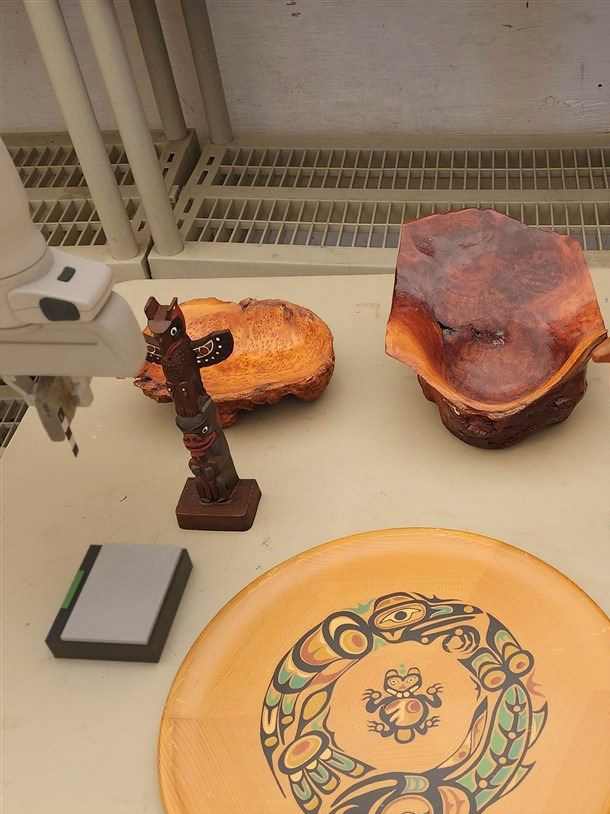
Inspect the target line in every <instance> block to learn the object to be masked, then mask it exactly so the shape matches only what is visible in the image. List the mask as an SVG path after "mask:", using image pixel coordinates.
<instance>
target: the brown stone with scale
mask: <svg viewBox="0 0 610 814" xmlns="http://www.w3.org/2000/svg"><path fill="white" fill-rule="evenodd" d="M37 383H38V384H37V387H36V391H35V396H34V402H35V406H34V407H35V409H36V412H37V415H38V418H39V420H40V422H41V425H42V427H43V429H44V430H45V432H46V435H47V436H48V438H49V439H50V441H52V442H54V443H59V442H60V443H61V442H64V441H66V439H67V441H68V443H69V446H70V448H71V451H72V454H73V456H74V458H76V459H77V457H78V455H79V451H80V449H79V446H78V444H77V441H76V439H75V437H74V434H73V431H72V429H71V425H72V423H73V420H74V418H75V416H76V412H77V408H78V407H74V406H73V402H72V401H71V399H70V397H69V394H70V392H71V391H72V390H73V387H74V385H75V384H79V382H78V383H74V382H73V381H72V378H71V376H39V377H38V381H37Z"/></svg>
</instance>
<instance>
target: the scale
mask: <svg viewBox="0 0 610 814" xmlns="http://www.w3.org/2000/svg"><path fill="white" fill-rule="evenodd" d="M193 566H194V563H193V561H192V559H191V556H190V553H189V551H188V549H187V548H183V547H182V546H181V545H162V544H139V543H138V544H137V543H115V542H104V543H103V544H90V545H89V547H88V549H87V550H86V552H85V555H84V557H83V560H82V562H81V564H80V566H79V568H78V570H77V571H76V574H75V577H74V579H73V580H72V582H71V584H70V587H69V589H68V591H67V593H66V595H65V597H64V599H63V602H62V604H61V606H60V608H59V610H58V612H57V615H56V616H55V618H54V621H53V623H52V625H51V627H50V629H49V631H48V633H47V636H46V637H45V640H44V643H45V645H46V646H47V647H48V649H49V651H50V653H51V655H52V656H53V657H54V658H56V659H57V658H58V659H73V660H74V659H76V660H94V661H96V660H97V661H112V662H113V661H115V662H137V663H153V664H154V663H156V664H157V663H158V664H159V661H160V658H161V656H162V653H163V650H164V647H165V645H166V642H167V639H168V636H169V635H170V631H171V628H172V625H173V623H174V620H175V617H176V615H177V612H178V608H179V606H180V603H181V600H182V597H183V595H184V592H185V589H186V587H187V584H188V581H189V578H190V575H191V572H192V569H193Z"/></svg>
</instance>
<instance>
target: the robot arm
mask: <svg viewBox="0 0 610 814" xmlns="http://www.w3.org/2000/svg"><path fill="white" fill-rule="evenodd" d="M115 284H116V276H115V274H114V271H113V270H112V268H111V267H110V266H108V265H107V264H105V263H103V262H98V261H95V260H91V259H88V258H85V257H81V256H78V255H74V254H71V253H68V252H65V251H63V250H60V249H58V248H56V247H53V246H50V245H48V242H47V241H46V238H45V236H44V235H43V233H42V232H41V230H40V229H39V228H38V227H37V226H36V224H35V223H34V220H33V218H32V215H31V212H30V200H29V197H28V193H27V191H26V188H25V186H24V183H23V181H22V179H21V176H20V174H19V171H18V170H17V167H16V165H15V163H14V161H13V158H12V156H11V154H10V152H9V150H8V148H7V145H6V144H5V142H4V140H3V139H2V137H1V136H0V377H1V379H2V381H3V382H4V383H5V384H6V385H7V386H9V387H10V388H12V389H13V390H14V391H16V392H17V393H18V394H20V395H22V398H23V400H24V401H25V403H26V405H27V406H28V407H35V402H34V396H35V391H36V387H37V384H38V382H35V381H34V380H33V379H32V378H30V376H31V377H32V376H34V377H38V376H39V377H40V376H71V378H72V381H73V382H74V383H78V382H79V384H75V385H74V387H73V390H72V391H71V392H70V394H69V397H70V399H71V401H72V402H73V406H74V407H77V408H90V407H91V406H92V404H93V402H94V399H95V397H94V393H93V391H92V387H91V386H90V385H91V384H92V383H91V382H92V379H93V378H125V379H126V378H129V379H130V378H134V377H135V376H136V375H137V374H138V373H139V371H140V370H141V368H142V367H143V365H144V363H145V361H146V359H147V356H148V345H147V341H146V339H145V336H144V333H143V331H142V329H141V326H140V324H139V321H138V319H137V317H136V315H135V313H134V311H133V309H132V307H131V306H130V303H129V302H128V301H127V300H126V298H125V297H123V296H122V295H121V294H120V293H118V292H116V291H114V290H113V289H114V287H115Z"/></svg>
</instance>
